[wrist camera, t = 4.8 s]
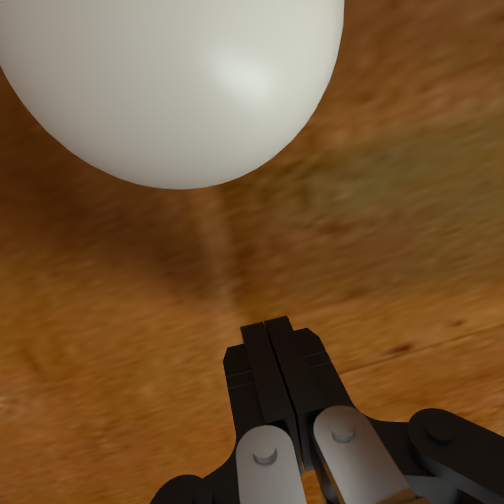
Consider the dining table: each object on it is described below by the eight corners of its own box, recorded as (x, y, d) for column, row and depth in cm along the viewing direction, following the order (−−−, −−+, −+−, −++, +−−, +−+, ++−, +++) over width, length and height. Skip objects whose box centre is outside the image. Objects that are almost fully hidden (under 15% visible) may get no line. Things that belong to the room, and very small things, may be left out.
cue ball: (-93, 192, 4) (116, 239, 10) (468, 32, 4) (347, 175, 10) (-210, -319, 5) (59, 17, 11) (306, -475, 4) (281, -48, 10)
